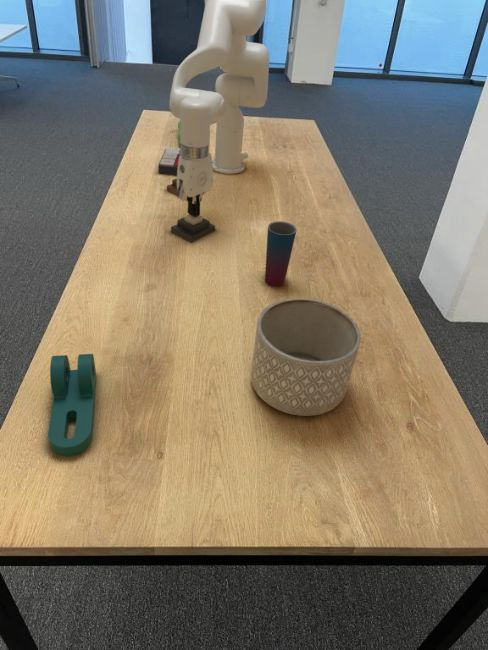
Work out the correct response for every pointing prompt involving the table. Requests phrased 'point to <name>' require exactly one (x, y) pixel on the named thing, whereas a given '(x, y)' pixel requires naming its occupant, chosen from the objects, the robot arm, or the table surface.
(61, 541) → the table surface
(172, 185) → the walnut key block
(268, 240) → the cup
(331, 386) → the planter
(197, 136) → the robot arm
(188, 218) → the ivory key
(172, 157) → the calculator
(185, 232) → the block
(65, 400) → the bracket
